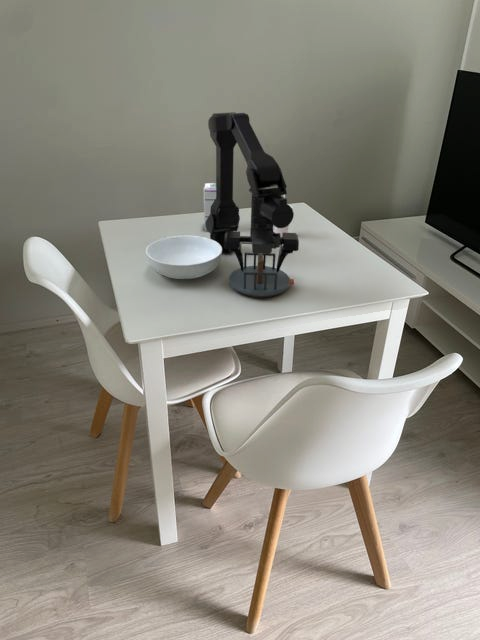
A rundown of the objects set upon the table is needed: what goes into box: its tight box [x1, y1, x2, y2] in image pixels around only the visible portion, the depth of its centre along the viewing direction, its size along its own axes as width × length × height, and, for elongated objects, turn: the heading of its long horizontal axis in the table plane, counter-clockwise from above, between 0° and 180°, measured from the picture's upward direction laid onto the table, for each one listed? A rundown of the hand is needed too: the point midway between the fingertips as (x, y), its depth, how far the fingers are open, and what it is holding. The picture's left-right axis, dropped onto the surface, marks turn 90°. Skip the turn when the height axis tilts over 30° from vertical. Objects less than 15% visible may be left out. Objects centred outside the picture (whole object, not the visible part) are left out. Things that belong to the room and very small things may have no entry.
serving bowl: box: [145, 234, 223, 280], centre depth 144 cm, size 21×21×7 cm
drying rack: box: [228, 252, 295, 296], centre depth 136 cm, size 17×16×7 cm
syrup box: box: [202, 182, 216, 232], centre depth 171 cm, size 6×6×14 cm
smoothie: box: [274, 195, 294, 237], centre depth 166 cm, size 6×6×14 cm
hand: (259, 271), depth 137 cm, fingers open, 9 cm apart
